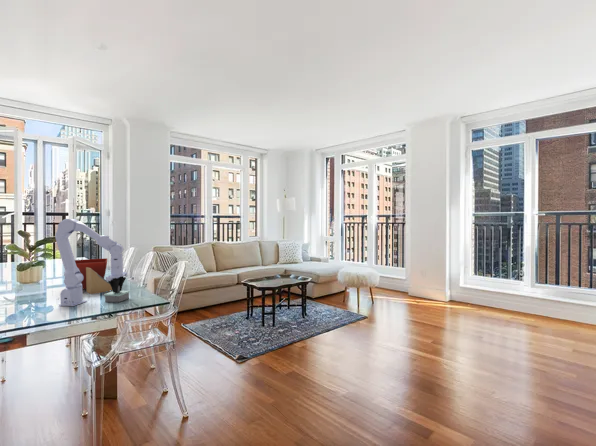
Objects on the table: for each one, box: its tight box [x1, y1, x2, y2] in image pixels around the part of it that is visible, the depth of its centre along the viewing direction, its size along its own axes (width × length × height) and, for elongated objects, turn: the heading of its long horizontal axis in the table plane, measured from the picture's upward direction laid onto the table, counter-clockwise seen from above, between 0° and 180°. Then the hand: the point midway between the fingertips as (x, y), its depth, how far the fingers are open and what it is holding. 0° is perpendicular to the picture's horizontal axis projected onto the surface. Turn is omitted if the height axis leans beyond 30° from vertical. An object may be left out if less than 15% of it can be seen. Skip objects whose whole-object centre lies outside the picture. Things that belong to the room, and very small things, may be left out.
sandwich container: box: [86, 267, 112, 295], centre depth 200 cm, size 9×15×15 cm, turn 138°
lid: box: [103, 285, 131, 297], centre depth 178 cm, size 9×9×5 cm
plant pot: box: [75, 258, 108, 290], centre depth 209 cm, size 19×19×17 cm
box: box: [104, 292, 130, 304], centre depth 178 cm, size 8×8×4 cm
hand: (117, 291), depth 178 cm, fingers closed on lid, 3 cm apart
